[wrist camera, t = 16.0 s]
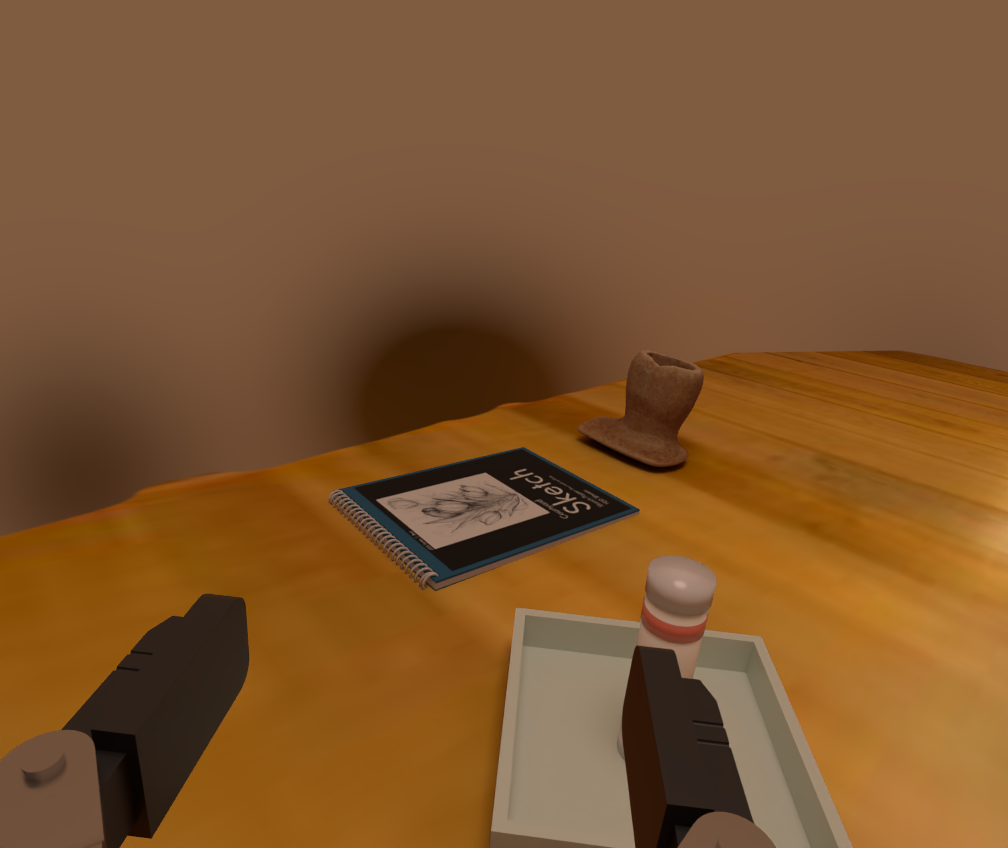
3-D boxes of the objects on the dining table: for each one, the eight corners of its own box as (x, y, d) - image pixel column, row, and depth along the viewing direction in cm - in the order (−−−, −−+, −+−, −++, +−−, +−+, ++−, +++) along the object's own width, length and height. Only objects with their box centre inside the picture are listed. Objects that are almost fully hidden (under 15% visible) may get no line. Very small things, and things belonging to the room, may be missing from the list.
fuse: (604, 744, 45) (635, 568, 40) (642, 717, 47) (675, 549, 42) (651, 785, 42) (690, 601, 37) (688, 755, 45) (729, 578, 40)
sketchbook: (638, 519, 79) (641, 503, 79) (426, 600, 61) (427, 581, 60) (522, 454, 95) (524, 441, 94) (325, 503, 76) (325, 487, 76)
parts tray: (485, 882, 36) (491, 831, 35) (511, 647, 55) (515, 607, 53) (847, 933, 35) (867, 882, 34) (750, 676, 54) (761, 636, 52)
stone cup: (705, 462, 96) (725, 362, 91) (652, 479, 89) (671, 372, 83) (626, 428, 107) (640, 337, 101) (574, 441, 100) (586, 344, 94)
